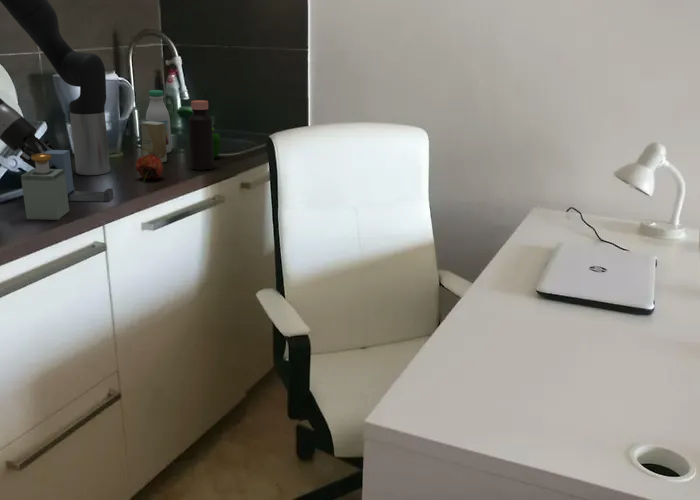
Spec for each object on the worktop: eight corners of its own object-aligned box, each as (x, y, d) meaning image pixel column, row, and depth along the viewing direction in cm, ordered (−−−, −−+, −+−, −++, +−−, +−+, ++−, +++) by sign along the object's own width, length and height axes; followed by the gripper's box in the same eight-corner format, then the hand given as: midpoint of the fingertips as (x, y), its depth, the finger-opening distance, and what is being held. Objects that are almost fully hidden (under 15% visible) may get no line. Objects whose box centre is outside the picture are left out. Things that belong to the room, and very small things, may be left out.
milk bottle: (153, 148, 231) (149, 88, 224) (175, 150, 230) (172, 89, 223) (144, 153, 224) (139, 91, 217) (166, 154, 223) (162, 92, 216)
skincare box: (142, 161, 212) (139, 122, 208) (151, 159, 216) (148, 120, 212) (159, 164, 210) (156, 124, 206) (168, 161, 214) (165, 122, 210)
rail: (31, 196, 171) (30, 186, 170) (113, 197, 172) (112, 188, 171) (25, 199, 168) (24, 190, 167) (109, 201, 169) (108, 192, 168)
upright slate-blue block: (55, 194, 172) (49, 149, 169) (75, 194, 173) (70, 149, 169) (46, 200, 167) (40, 153, 163) (67, 200, 167) (62, 154, 163)
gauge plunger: (39, 182, 156) (35, 152, 154) (57, 183, 156) (53, 153, 154) (32, 187, 153) (28, 156, 150) (50, 187, 153) (46, 156, 150)
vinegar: (194, 165, 209) (191, 99, 202) (216, 166, 209) (213, 100, 202) (188, 170, 203) (185, 102, 196) (211, 171, 203) (208, 103, 196)
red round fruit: (160, 190, 189) (173, 163, 194) (146, 173, 183) (160, 145, 189) (138, 190, 192) (151, 163, 197) (124, 173, 186) (138, 145, 191)
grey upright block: (39, 210, 160) (33, 168, 157) (69, 210, 160) (64, 169, 157) (26, 219, 153) (20, 175, 150) (58, 219, 154) (53, 176, 150)
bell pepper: (188, 157, 220) (187, 126, 216) (209, 154, 226) (208, 124, 222) (205, 161, 214) (204, 130, 211) (225, 158, 220) (224, 127, 217)
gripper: (6, 120, 156) (66, 173, 161) (32, 111, 170) (86, 160, 174) (-14, 143, 158) (46, 194, 162) (13, 132, 171) (67, 180, 176)
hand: (66, 176), depth 168 cm, fingers closed on upright slate-blue block, 4 cm apart
